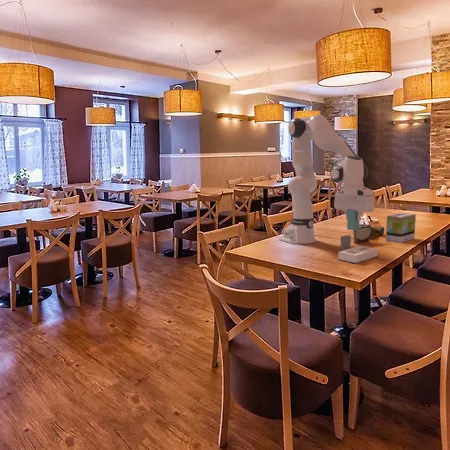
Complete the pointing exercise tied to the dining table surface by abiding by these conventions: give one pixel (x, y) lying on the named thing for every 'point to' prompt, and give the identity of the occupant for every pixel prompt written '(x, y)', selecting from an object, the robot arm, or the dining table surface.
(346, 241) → the flat tab
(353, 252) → the socket block
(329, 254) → the dining table surface
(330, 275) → the dining table surface
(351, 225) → the square peg
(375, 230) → the kendama
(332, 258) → the dining table surface
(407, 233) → the tea box
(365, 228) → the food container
